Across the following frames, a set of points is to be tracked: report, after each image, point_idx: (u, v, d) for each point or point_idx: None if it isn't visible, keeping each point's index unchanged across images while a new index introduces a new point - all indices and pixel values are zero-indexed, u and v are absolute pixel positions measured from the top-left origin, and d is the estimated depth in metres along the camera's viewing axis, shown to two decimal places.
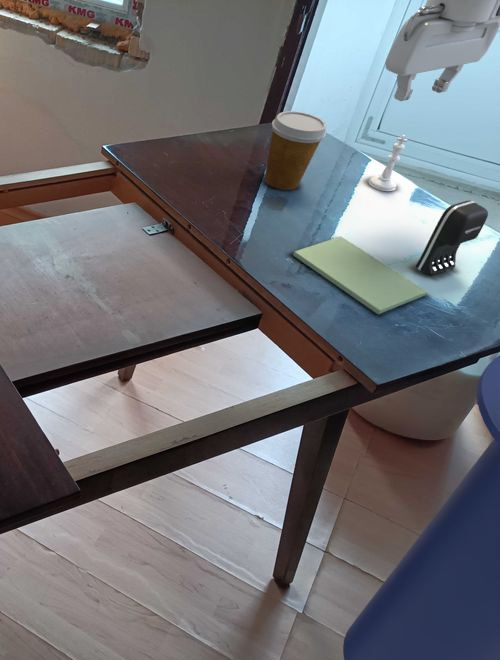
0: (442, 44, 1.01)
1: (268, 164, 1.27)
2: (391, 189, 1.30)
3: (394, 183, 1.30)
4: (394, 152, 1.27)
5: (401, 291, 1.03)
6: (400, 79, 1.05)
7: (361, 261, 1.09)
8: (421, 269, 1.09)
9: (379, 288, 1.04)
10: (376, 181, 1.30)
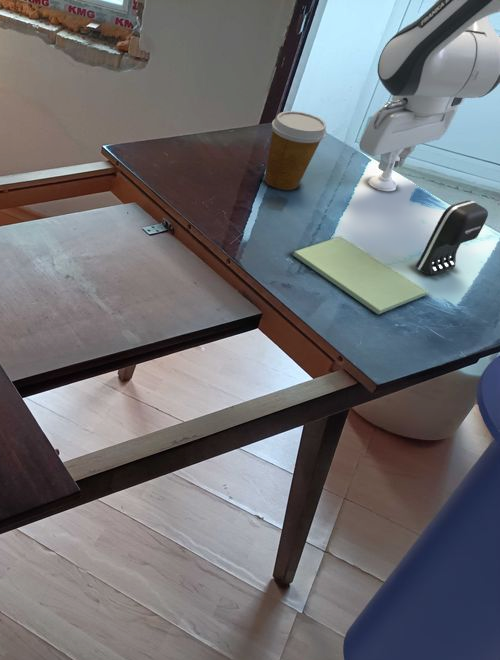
0: (406, 129, 1.21)
1: (268, 164, 1.27)
2: (391, 189, 1.30)
3: (394, 183, 1.30)
4: None
5: (401, 291, 1.03)
6: (383, 154, 1.26)
7: (361, 261, 1.09)
8: (421, 269, 1.09)
9: (379, 288, 1.04)
10: (376, 181, 1.30)
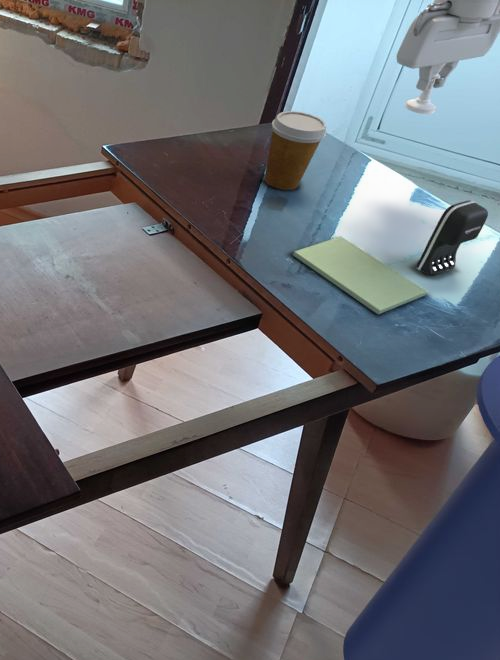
0: (449, 39, 1.09)
1: (268, 164, 1.27)
2: (430, 112, 1.17)
3: (433, 106, 1.18)
4: None
5: (401, 291, 1.03)
6: (422, 70, 1.13)
7: (361, 261, 1.09)
8: (421, 269, 1.09)
9: (379, 288, 1.04)
10: (413, 104, 1.18)
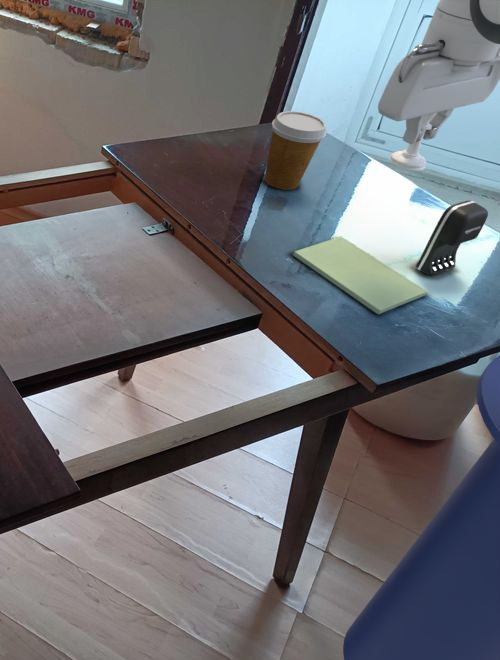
0: (442, 85, 0.89)
1: (268, 164, 1.27)
2: (420, 168, 0.98)
3: (423, 160, 0.98)
4: None
5: (401, 291, 1.03)
6: (409, 120, 0.94)
7: (361, 261, 1.09)
8: (421, 269, 1.09)
9: (379, 288, 1.04)
10: (399, 158, 0.98)
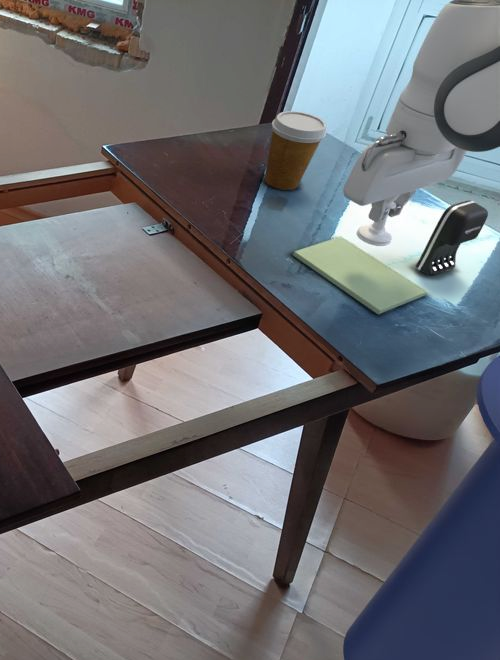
0: (405, 171, 0.93)
1: (268, 164, 1.27)
2: (385, 243, 1.01)
3: (388, 235, 1.02)
4: None
5: (401, 291, 1.03)
6: None
7: (361, 261, 1.09)
8: (421, 269, 1.09)
9: (379, 288, 1.04)
10: (365, 233, 1.02)
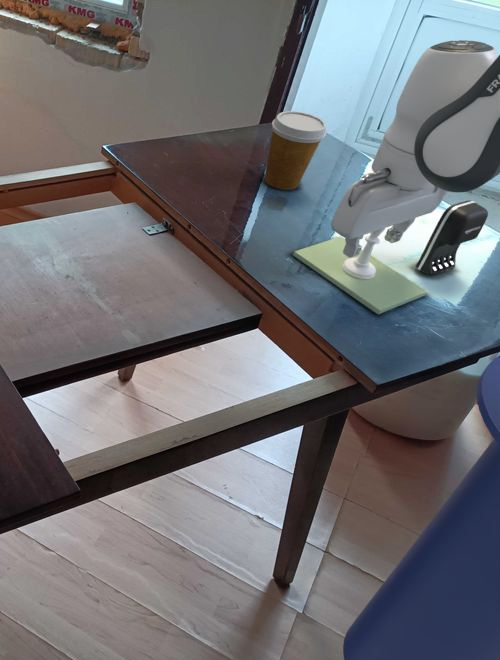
0: (390, 206, 0.96)
1: (268, 164, 1.27)
2: (369, 277, 1.05)
3: (373, 269, 1.06)
4: (372, 233, 1.02)
5: (401, 291, 1.03)
6: None
7: None
8: (421, 269, 1.09)
9: (379, 288, 1.04)
10: (351, 266, 1.06)
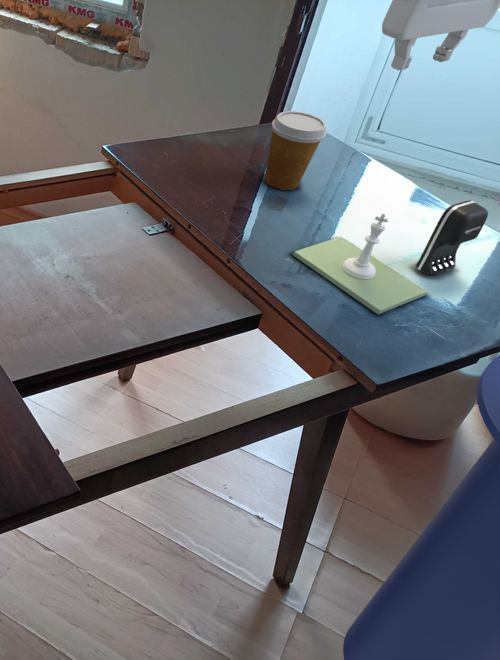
0: (445, 5, 0.90)
1: (268, 164, 1.27)
2: (369, 277, 1.05)
3: (373, 269, 1.06)
4: (372, 233, 1.02)
5: (401, 291, 1.03)
6: (398, 45, 0.94)
7: None
8: (421, 269, 1.09)
9: (379, 288, 1.04)
10: (351, 266, 1.06)
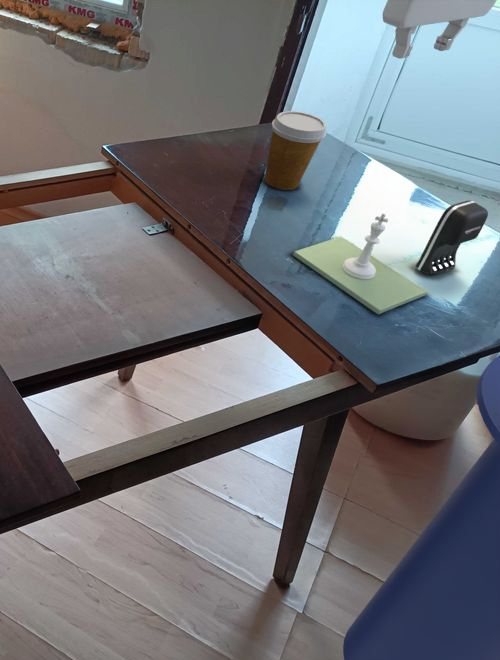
0: None
1: (268, 164, 1.27)
2: (369, 277, 1.05)
3: (373, 269, 1.06)
4: (372, 233, 1.02)
5: (401, 291, 1.03)
6: (399, 33, 0.95)
7: None
8: (421, 269, 1.09)
9: (379, 288, 1.04)
10: (351, 266, 1.06)
